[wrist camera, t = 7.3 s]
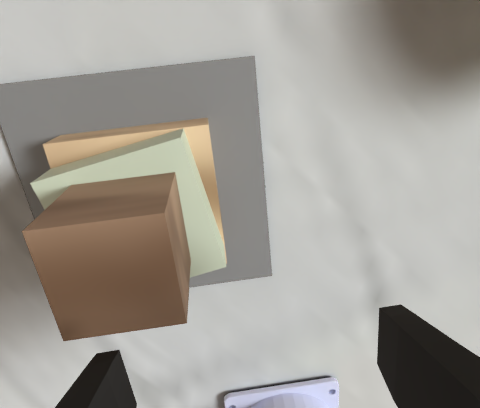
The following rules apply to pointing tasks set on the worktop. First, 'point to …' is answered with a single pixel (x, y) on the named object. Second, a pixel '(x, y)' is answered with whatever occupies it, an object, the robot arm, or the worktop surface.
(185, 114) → the mat
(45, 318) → the worktop surface
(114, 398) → the robot arm
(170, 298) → the walnut block
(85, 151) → the oak slab
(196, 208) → the sage slab
